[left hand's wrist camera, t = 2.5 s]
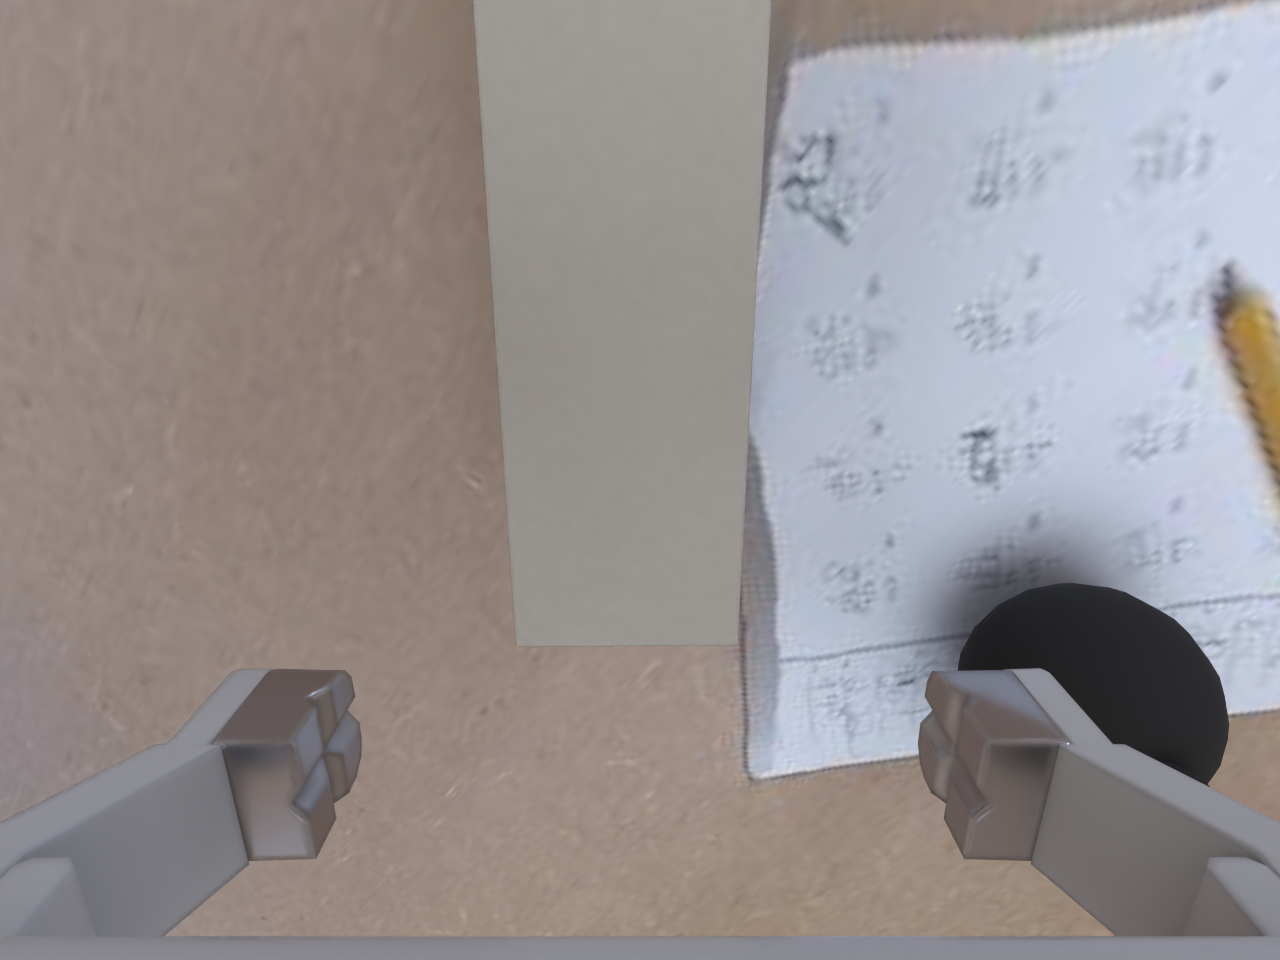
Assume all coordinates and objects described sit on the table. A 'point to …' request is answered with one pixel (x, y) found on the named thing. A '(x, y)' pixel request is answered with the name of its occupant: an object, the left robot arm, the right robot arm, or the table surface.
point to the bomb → (1114, 669)
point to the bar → (624, 307)
